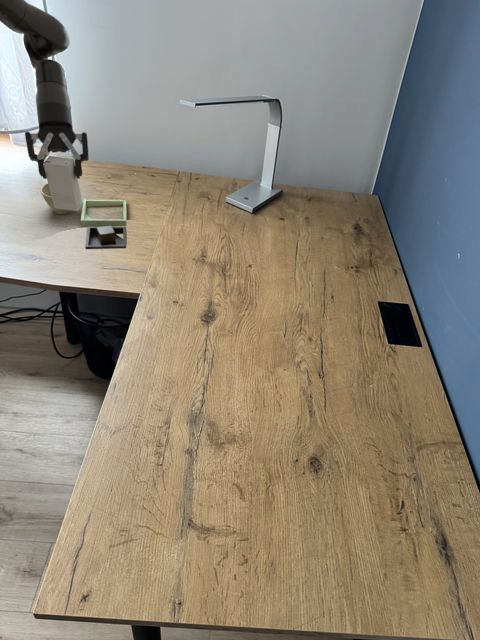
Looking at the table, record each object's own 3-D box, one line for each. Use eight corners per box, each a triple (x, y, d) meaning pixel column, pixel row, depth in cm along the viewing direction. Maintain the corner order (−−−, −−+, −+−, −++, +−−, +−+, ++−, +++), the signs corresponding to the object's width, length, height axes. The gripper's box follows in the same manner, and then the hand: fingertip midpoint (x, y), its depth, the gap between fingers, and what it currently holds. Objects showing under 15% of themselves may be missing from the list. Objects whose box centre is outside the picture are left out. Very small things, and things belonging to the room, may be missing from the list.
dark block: (101, 247, 138) (99, 234, 136) (98, 239, 141) (96, 227, 138) (116, 245, 140) (114, 232, 137) (112, 237, 142) (111, 225, 140)
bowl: (41, 217, 148) (35, 195, 143) (52, 200, 155) (47, 178, 150) (75, 220, 148) (70, 198, 143) (85, 203, 155) (81, 181, 150)
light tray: (81, 228, 145) (80, 220, 144) (84, 207, 154) (83, 199, 152) (126, 228, 148) (126, 220, 146) (126, 207, 157) (126, 200, 155)
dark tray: (86, 255, 136) (85, 246, 134) (88, 234, 143) (87, 226, 142) (126, 254, 138) (126, 246, 136) (126, 234, 146) (126, 226, 144)
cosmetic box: (83, 203, 128) (75, 157, 119) (77, 212, 125) (69, 166, 116) (58, 199, 128) (49, 154, 119) (52, 209, 125) (42, 162, 116)
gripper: (17, 99, 114) (26, 172, 114) (84, 101, 118) (92, 171, 118) (23, 115, 121) (31, 183, 121) (86, 116, 125) (94, 182, 125)
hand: (61, 177), depth 120 cm, fingers closed on cosmetic box, 7 cm apart
